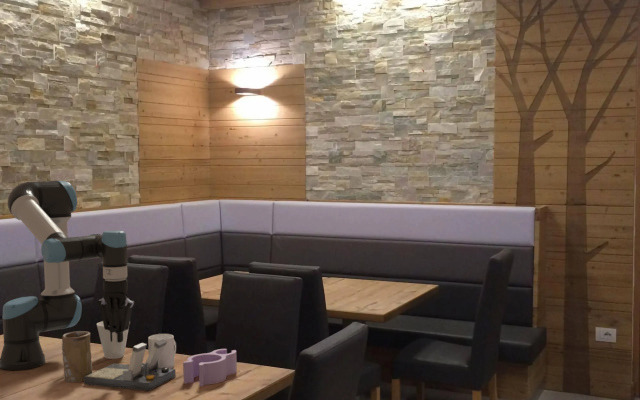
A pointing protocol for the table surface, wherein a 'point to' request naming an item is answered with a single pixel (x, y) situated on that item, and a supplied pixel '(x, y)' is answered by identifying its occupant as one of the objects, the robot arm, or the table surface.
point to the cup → (108, 344)
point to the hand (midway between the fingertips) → (117, 351)
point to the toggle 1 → (137, 358)
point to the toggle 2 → (155, 353)
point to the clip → (210, 367)
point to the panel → (130, 377)
